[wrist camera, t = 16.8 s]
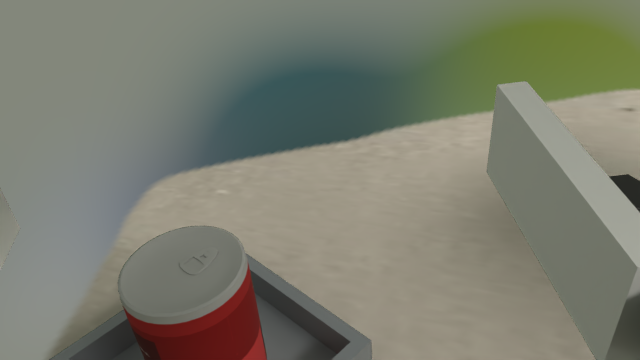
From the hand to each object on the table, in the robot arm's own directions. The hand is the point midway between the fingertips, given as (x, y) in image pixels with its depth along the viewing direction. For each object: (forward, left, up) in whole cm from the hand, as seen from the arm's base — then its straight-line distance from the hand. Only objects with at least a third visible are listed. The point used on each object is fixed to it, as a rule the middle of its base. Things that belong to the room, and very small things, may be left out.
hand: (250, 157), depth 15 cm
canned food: (-4, -14, -27) cm, 31 cm away
